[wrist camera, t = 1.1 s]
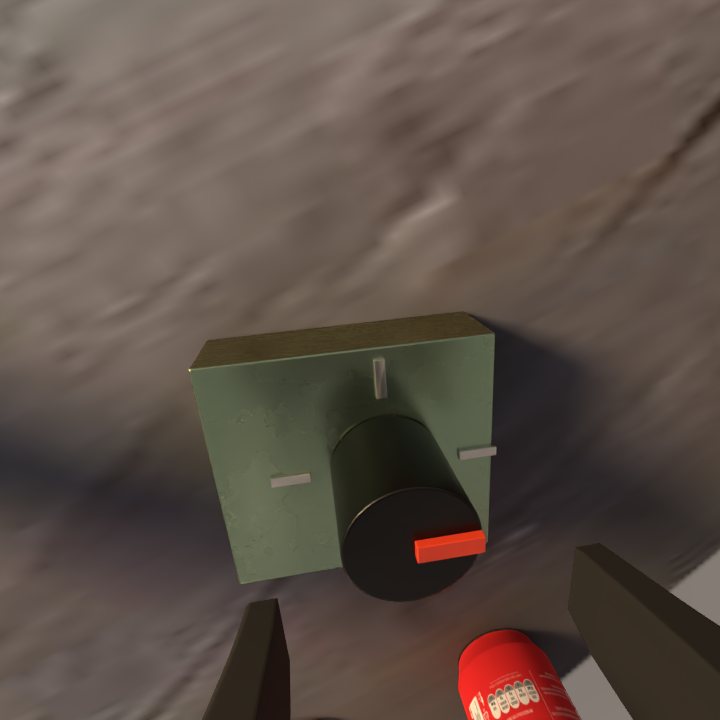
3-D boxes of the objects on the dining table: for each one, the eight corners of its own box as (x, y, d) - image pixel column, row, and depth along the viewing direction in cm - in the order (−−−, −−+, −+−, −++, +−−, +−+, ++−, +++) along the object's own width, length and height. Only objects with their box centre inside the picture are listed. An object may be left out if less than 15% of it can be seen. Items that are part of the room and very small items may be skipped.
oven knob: (336, 518, 16) (348, 623, 12) (324, 424, 15) (334, 507, 11) (440, 502, 17) (485, 598, 13) (439, 408, 15) (489, 484, 11)
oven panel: (247, 530, 20) (238, 588, 17) (206, 339, 16) (186, 371, 13) (464, 496, 21) (492, 546, 18) (466, 310, 17) (501, 333, 14)
